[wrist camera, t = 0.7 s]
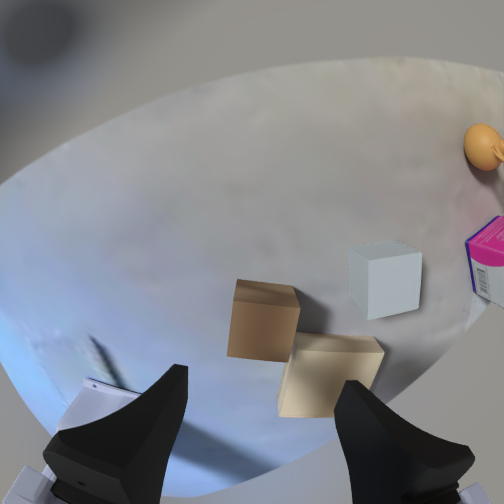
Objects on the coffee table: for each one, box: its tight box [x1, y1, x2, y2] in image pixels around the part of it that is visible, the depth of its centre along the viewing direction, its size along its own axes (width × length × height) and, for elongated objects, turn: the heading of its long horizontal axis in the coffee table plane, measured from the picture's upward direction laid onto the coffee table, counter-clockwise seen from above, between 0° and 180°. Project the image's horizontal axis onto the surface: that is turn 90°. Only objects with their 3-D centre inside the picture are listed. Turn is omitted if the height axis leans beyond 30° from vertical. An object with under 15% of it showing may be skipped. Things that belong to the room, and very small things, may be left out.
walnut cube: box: [227, 279, 301, 363], centre depth 19 cm, size 4×4×4 cm
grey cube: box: [348, 240, 422, 320], centre depth 18 cm, size 4×4×4 cm
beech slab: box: [277, 332, 385, 418], centre depth 21 cm, size 7×7×3 cm
